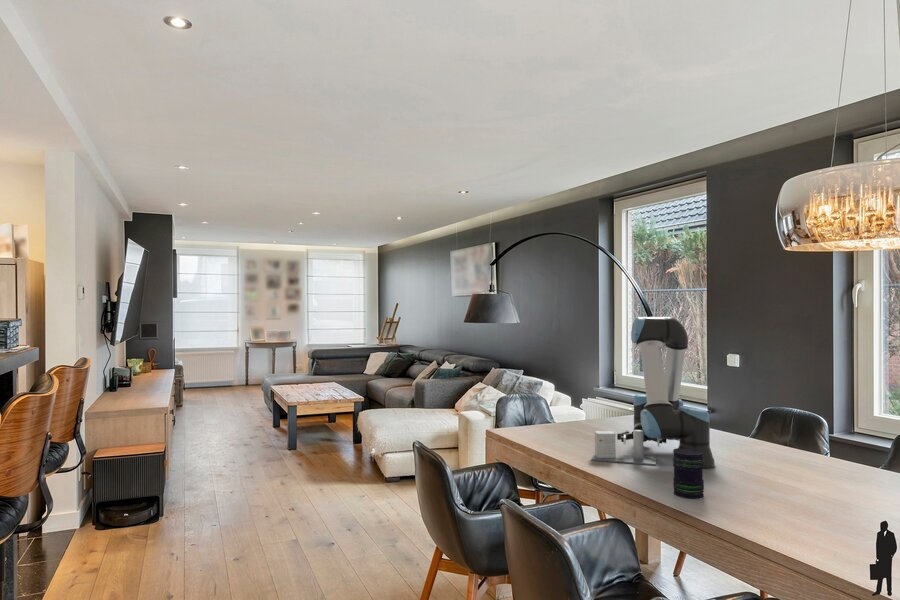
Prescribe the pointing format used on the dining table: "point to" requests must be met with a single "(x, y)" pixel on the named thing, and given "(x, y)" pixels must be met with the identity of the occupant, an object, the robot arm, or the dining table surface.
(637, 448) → the base plate with uprights
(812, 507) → the dining table surface
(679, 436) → the robot arm
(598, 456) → the small box
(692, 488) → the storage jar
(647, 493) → the dining table surface
